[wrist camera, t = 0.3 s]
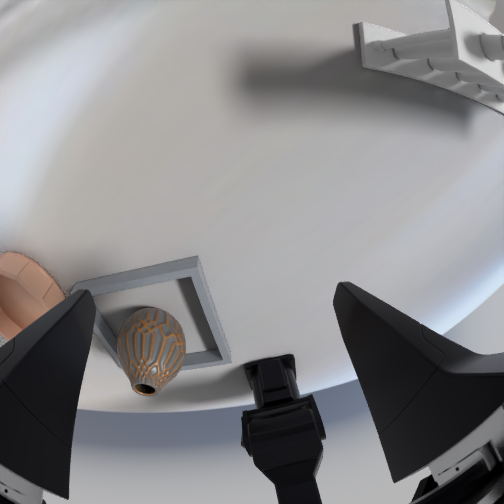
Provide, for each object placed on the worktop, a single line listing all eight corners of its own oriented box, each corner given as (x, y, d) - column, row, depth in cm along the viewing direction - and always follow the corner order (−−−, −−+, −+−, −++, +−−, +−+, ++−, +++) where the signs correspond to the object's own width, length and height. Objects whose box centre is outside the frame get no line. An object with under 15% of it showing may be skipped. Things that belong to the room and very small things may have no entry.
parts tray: (230, 351, 31) (231, 362, 29) (129, 364, 31) (127, 375, 29) (198, 255, 24) (197, 266, 22) (76, 282, 24) (69, 293, 22)
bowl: (91, 335, 27) (83, 356, 24) (26, 341, 27) (18, 357, 24) (35, 239, 20) (18, 256, 18) (-23, 263, 20) (-36, 279, 17)
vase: (118, 297, 25) (95, 364, 18) (182, 296, 26) (176, 368, 19) (133, 342, 29) (121, 405, 21) (190, 342, 29) (189, 408, 22)
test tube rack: (361, 67, 17) (488, 61, 6) (357, 23, 15) (473, -12, 4) (505, 115, 19) (580, 144, 8) (505, 85, 17) (580, 108, 6)
